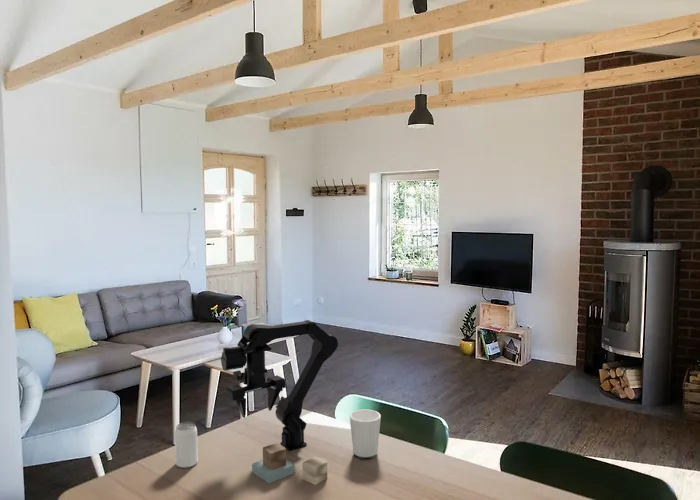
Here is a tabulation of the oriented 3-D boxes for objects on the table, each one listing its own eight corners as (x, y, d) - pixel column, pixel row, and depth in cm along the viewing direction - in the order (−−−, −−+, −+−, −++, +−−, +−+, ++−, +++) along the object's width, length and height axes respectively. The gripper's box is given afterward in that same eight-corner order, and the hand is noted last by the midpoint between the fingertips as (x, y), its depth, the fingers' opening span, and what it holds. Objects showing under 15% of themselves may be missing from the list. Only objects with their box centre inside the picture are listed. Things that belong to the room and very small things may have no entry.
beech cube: (315, 472, 159) (314, 456, 158) (327, 478, 155) (327, 461, 155) (302, 479, 155) (302, 462, 155) (315, 485, 152) (314, 468, 151)
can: (191, 469, 161) (190, 430, 160) (171, 467, 162) (170, 429, 161) (201, 459, 167) (200, 422, 166) (182, 457, 169) (181, 420, 168)
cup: (344, 458, 167) (344, 418, 166) (356, 445, 176) (356, 407, 175) (375, 464, 163) (374, 423, 162) (385, 450, 173) (385, 411, 171)
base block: (277, 463, 165) (277, 454, 165) (294, 474, 159) (294, 464, 158) (252, 473, 159) (252, 463, 159) (268, 485, 153) (268, 475, 152)
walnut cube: (278, 458, 162) (277, 442, 162) (286, 465, 158) (286, 448, 158) (263, 463, 159) (262, 447, 159) (271, 470, 155) (270, 453, 155)
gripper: (269, 354, 180) (270, 399, 182) (216, 365, 169) (218, 413, 170) (286, 362, 172) (287, 409, 173) (232, 373, 160) (234, 424, 162)
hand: (256, 413), depth 170 cm, fingers open, 9 cm apart
